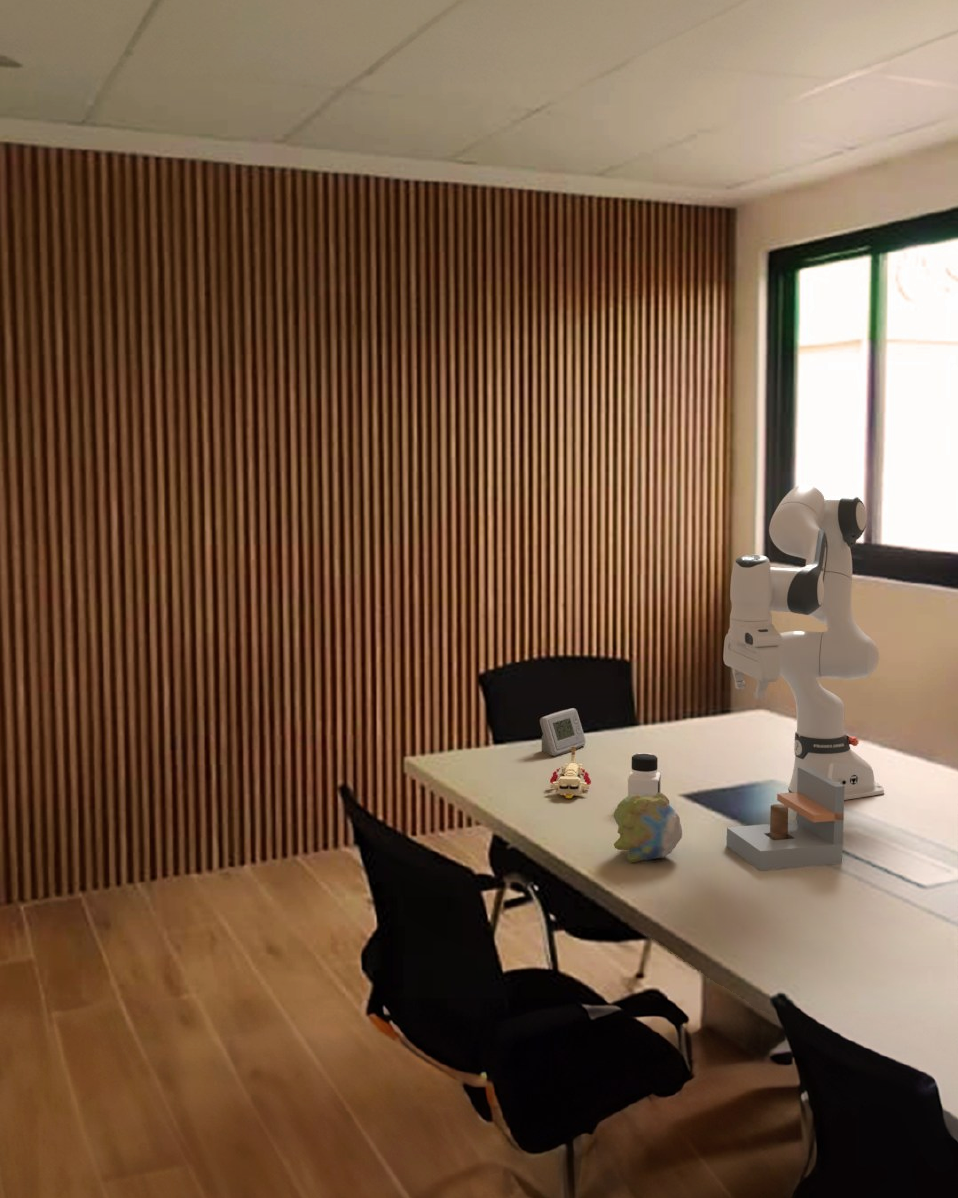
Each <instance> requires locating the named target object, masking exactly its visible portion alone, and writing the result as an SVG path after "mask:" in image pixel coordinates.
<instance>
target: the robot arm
mask: <svg viewBox="0 0 958 1198" xmlns="http://www.w3.org/2000/svg"><path fill="white" fill-rule="evenodd" d="M867 517H868V516H867V510H866V507H865V504H864V502H863V501H862V500H861V499H860V498H859V497H857V496H853V495H842V496H824V495H823V493H822V492H821V491H820V490H819V489H818V488H817V487H814V486H813V485H809V484H808V485H806V484H803V485H798V486H795V487H794V488H792V489H791V490H790V491H788V493H786V495H785V496H784V497H783V498H782V500H781V501H780V502H779V504H778V505H777V507H776V509H775V511H774V513H773V515H772V517H771V520H770V523H769V527H768V528H769V529H768V532H769V536H770V539H771V541H772V543H773V545H774V546H775V547H776V548H777V549H779V551H781V552H782V553H784V554H786V555H789V556H792V557H797V558H801V559H803V560H805V566H803V567H796V568H795V567H794V568H793V567H778V566H777V567H776V566H775V567H774V566H771V562H770V559H769V558H768V557H767V556H765V555H762V554H747V555H746V554H745V555H741V556H739V557H738V558H736V559H735V560H734V562H733V566H732V571H731V578H730V588H729V589H730V591H729V592H730V594H729V596H730V597H729V599H730V602H731V612H730V614H729V628H728V631H727V633H726V635H725V637H724V642H723V644H724V645H723V654H722V655H723V656H722V657H723V658H722V659H723V663H724V664H725V666H727V667H728V668H731V669H732V670H731V671H732V672H731V673H732V675H733V679H734V688H735V689H737V690H739V691H741V690H746V681H745V679H744V674H745V675H747V676H748V677H751V678H754V679H755V680H756V689H755V690H754V696H753V697H754V698H755V699H757V700H759V701H760V700H765V698H766V691H767V688H768V686H769V683H774V682H777V681H778V680H779V677H782V678H783V679H784V681H785V682H786V684H788V686H789V687H790V690H791V692H792V694H793V697H794V701H795V706H796V709H795V710H796V731H795V733H794V745H793V746H794V749H793V750H794V751H793V752H794V756H795V757H794V764H793V770H792V774H791V779H790V782H789V785H788V788H787V789H788V790H789V791H790V793H792V792H797V779H798V767H804V766H807V767H809V768H811V769H813V770H814V771H816V772H818V773H820V774H822V775H824V776H826V777H828V778H830V779H832V780H834V781H836V782H841V783H842V785H843V786H845V789H844V801H845V800H846V801H847V800H851V799H853V800H854V799H859V798H864V797H871V796H872V797H873V796H877V795H878V796H879V795H883V794H884V793H885V790H884V787H883V786H882V785H881V784H880V783H877V782H876V781H875V775H874V770H873V768H872V766H871V765H870V764H869V763H868V762H867V761H866V760H865V759H863V758H862V757H861V756H859V754H857V752H855V751H854V750H852V749H851V746H850V745H852V746H853V747H857V746H858V744H860V740H859V738H858V737H855V736H852V735H851V736H850V735H847V734H846V733H845V714H846V712H845V708H846V707H845V705H844V702H843V700H842V698H840V697H839V696H837V695H836V694H835V693H833V692H831V691H829V690H828V689H826V688H824V687H823V685H822V684H821V683H820V680H819V679H821V678H825V679H836V680H837V679H840V680H841V679H842V680H854V679H855V680H856V679H862V678H868V677H870V676H871V675H872V674H873V673H874V672H875V670H876V669H877V667H878V664H879V660H880V653H879V649H878V646H877V644H876V643H875V641H874V639H872V638H871V637H870V636H868V635H867V634H866V633H865V632H864V631H863V630H862V629H861V628H860V626H859V625H858V624H857V622H856V620H855V618H854V614H853V609H852V587H853V586H852V584H853V559H852V551H851V547H853V546H854V545H855V544H856V543H857V540H859V539H860V538H861V537H862V535H863V533H864V532H865V530H866V527H867V521H868V520H867V519H868V518H867ZM772 612H783V613H784V612H785V613H793V614H799V615H805V616H810V617H811V618H813V619H814V620H815V621H818V622H820V623H822V624H823V625H825V626H826V627H827V630H826V631H809V630H806V631H805V630H791V631H784V632H779V631H778V630H777V629H776V627H775V625H774V624H773V615H772Z"/></svg>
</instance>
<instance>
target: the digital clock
mask: <svg viewBox="0 0 958 1198" xmlns="http://www.w3.org/2000/svg"><path fill="white" fill-rule="evenodd" d="M539 724H540V727H541V728H540V729H541V732H542V736H541V752H543V753H548V754H549V755H550V756H551V757H554V756H555V757H556V756H558V755H559V756H561V755H564V754H567V753H569V752H571V746H575V751H576V750H578V749H579V748H582V747H584V746H585V745H586V743H587V741H586V738H585V734H584V729H583V727H582V723H581V720H580V717H579V714H578V710H577V709H576V708H574V707H573V708H568V709H564V710H563V709H562V710H559V711H556V712H553V713H550V714H549V713H548V714H547V715H545V716H542V717H541V718H540V719H539Z"/></svg>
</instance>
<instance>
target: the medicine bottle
mask: <svg viewBox="0 0 958 1198" xmlns="http://www.w3.org/2000/svg"><path fill="white" fill-rule="evenodd" d="M661 776H662V775H661V772H659V771H658V757H657V755H655V754H653V753H649V752H641V753H640V752H639V753H636V754H633V755H632V756H631V771H630V772H629V775H628V779H627V796H629V795H633V794H638V793H641V794H653V795H655V794H657V793H661V781H662V780H661V778H662V777H661Z"/></svg>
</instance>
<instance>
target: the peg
mask: <svg viewBox="0 0 958 1198" xmlns="http://www.w3.org/2000/svg"><path fill="white" fill-rule="evenodd" d="M789 809H790V808H789V807H788V806H786V805H784V804H782V803H778V804H777V803H776V804H771V805H770V812H769V813H770V814H769V815H770V816H769V817H770V819H769V824H770V838H771V839H772V840H785V839H788V822H789Z"/></svg>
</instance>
